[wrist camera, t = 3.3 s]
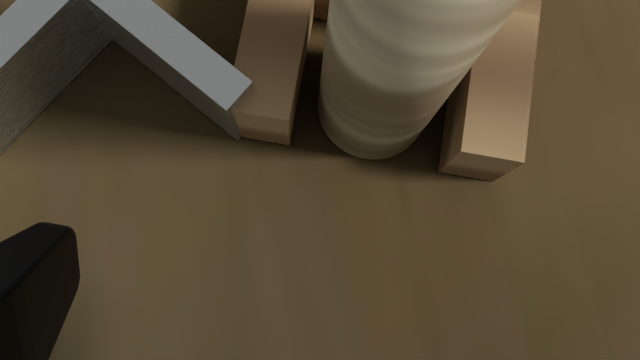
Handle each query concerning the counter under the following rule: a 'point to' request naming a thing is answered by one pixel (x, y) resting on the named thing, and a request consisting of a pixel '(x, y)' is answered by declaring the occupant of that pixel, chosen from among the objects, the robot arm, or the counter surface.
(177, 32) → the v block
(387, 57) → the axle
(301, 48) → the tan flat block
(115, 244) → the counter surface
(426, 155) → the counter surface
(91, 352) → the counter surface
